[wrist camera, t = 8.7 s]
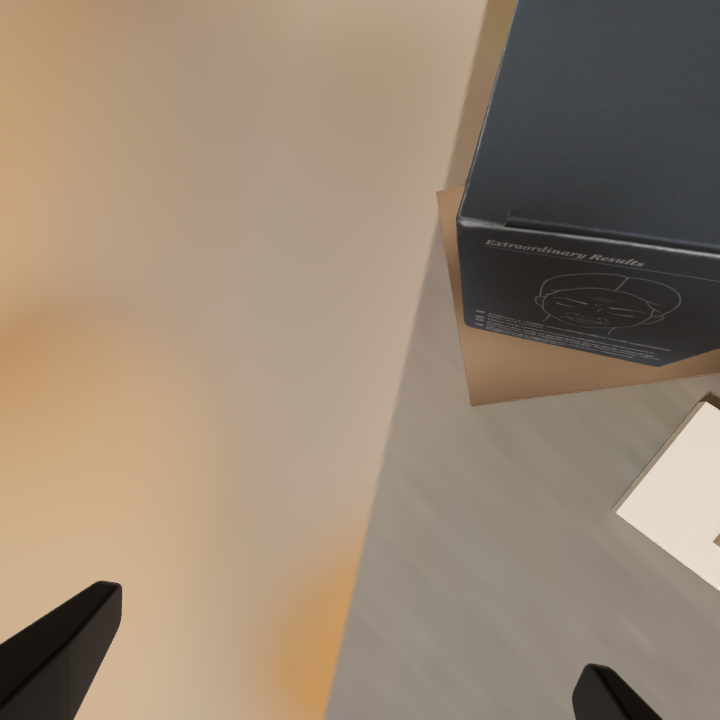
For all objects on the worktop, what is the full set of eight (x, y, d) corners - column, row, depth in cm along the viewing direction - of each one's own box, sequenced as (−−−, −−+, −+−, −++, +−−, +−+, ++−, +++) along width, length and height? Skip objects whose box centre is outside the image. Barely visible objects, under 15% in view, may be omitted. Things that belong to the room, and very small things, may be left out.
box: (688, 235, 17) (1001, -25, 7) (658, 370, 17) (941, 299, 7) (491, 207, 19) (516, -25, 9) (459, 327, 19) (451, 222, 9)
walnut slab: (705, 375, 19) (740, 369, 16) (470, 406, 21) (471, 404, 19) (651, 167, 20) (676, 133, 18) (439, 216, 23) (436, 192, 20)
